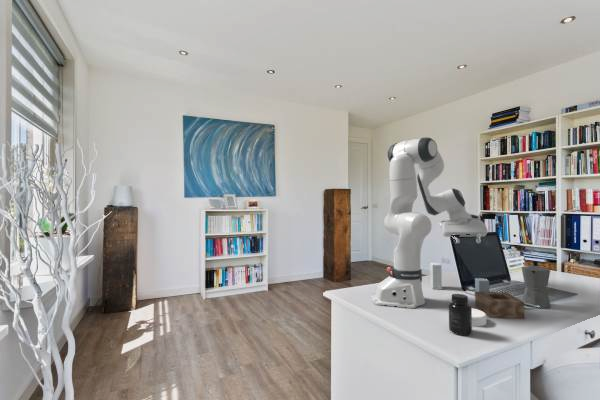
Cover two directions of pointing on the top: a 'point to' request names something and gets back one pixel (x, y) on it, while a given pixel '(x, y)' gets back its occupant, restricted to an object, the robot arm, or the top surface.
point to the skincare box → (435, 276)
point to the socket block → (499, 305)
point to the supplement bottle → (460, 315)
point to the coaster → (478, 317)
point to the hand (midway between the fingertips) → (468, 242)
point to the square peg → (481, 285)
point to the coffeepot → (536, 285)
